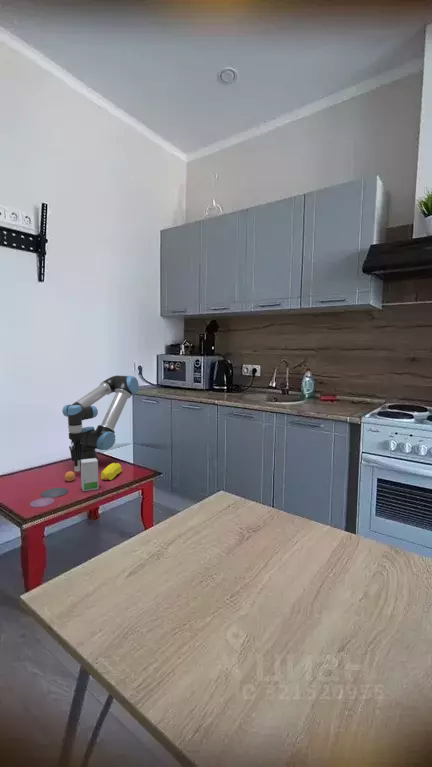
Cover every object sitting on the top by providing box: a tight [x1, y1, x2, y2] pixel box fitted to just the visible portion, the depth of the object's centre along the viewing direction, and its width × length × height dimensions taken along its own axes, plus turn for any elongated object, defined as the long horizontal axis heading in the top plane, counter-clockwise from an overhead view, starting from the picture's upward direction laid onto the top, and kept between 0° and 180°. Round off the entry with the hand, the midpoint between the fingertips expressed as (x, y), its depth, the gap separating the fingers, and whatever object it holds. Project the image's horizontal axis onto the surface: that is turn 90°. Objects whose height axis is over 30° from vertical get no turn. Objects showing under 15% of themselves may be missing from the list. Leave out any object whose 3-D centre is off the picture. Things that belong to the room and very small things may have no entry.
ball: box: [64, 470, 76, 482], centre depth 209 cm, size 6×6×6 cm
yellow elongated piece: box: [100, 462, 123, 481], centre depth 217 cm, size 18×7×8 cm
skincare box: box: [80, 458, 99, 492], centre depth 198 cm, size 8×7×16 cm
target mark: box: [40, 487, 69, 499], centre depth 193 cm, size 13×13×1 cm
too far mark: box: [29, 497, 55, 508], centre depth 181 cm, size 11×11×1 cm
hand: (77, 471), depth 219 cm, fingers closed
